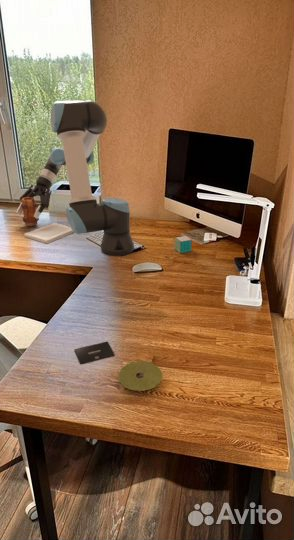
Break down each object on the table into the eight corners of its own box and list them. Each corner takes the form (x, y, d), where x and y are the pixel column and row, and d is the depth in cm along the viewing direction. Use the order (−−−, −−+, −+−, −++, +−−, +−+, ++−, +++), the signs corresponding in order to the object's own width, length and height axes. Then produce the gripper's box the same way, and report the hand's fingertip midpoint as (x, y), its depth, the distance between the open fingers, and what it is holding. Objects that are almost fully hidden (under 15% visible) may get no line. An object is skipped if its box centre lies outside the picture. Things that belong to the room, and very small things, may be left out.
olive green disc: (170, 384, 102) (171, 378, 101) (134, 403, 96) (134, 397, 95) (145, 361, 110) (145, 355, 109) (110, 377, 104) (110, 371, 103)
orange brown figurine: (22, 223, 212) (18, 195, 206) (38, 221, 215) (34, 193, 208) (25, 231, 200) (21, 202, 194) (42, 229, 203) (38, 200, 196)
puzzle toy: (180, 253, 177) (180, 241, 175) (174, 249, 182) (174, 237, 179) (191, 251, 179) (192, 239, 177) (185, 247, 184) (185, 235, 181)
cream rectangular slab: (76, 231, 203) (76, 228, 202) (47, 243, 188) (46, 240, 187) (54, 225, 211) (54, 222, 210) (24, 236, 196) (24, 233, 196)
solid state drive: (115, 356, 113) (114, 354, 112) (80, 365, 109) (80, 363, 109) (107, 343, 118) (107, 341, 118) (74, 351, 115) (74, 349, 115)
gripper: (66, 187, 205) (48, 223, 200) (34, 181, 217) (16, 215, 212) (58, 178, 198) (38, 215, 194) (25, 173, 211) (6, 207, 206)
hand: (26, 215), depth 203 cm, fingers closed on orange brown figurine, 12 cm apart
